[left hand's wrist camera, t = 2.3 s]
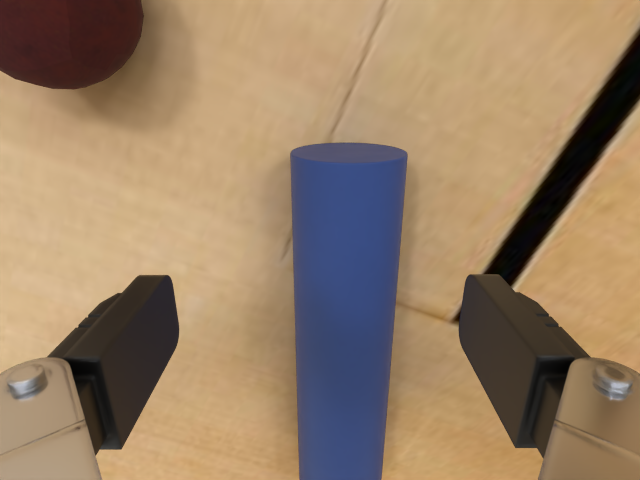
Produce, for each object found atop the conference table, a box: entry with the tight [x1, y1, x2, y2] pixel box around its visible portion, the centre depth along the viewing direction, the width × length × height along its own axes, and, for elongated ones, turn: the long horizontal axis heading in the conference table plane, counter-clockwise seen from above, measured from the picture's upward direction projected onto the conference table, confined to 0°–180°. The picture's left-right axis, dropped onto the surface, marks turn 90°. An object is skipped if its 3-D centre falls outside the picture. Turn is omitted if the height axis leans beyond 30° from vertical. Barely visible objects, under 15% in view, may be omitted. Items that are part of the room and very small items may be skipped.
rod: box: [290, 143, 407, 480], centre depth 26 cm, size 24×6×6 cm, turn 0°
